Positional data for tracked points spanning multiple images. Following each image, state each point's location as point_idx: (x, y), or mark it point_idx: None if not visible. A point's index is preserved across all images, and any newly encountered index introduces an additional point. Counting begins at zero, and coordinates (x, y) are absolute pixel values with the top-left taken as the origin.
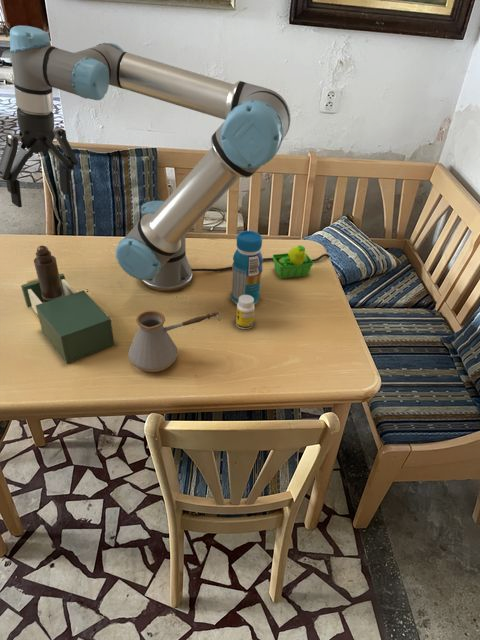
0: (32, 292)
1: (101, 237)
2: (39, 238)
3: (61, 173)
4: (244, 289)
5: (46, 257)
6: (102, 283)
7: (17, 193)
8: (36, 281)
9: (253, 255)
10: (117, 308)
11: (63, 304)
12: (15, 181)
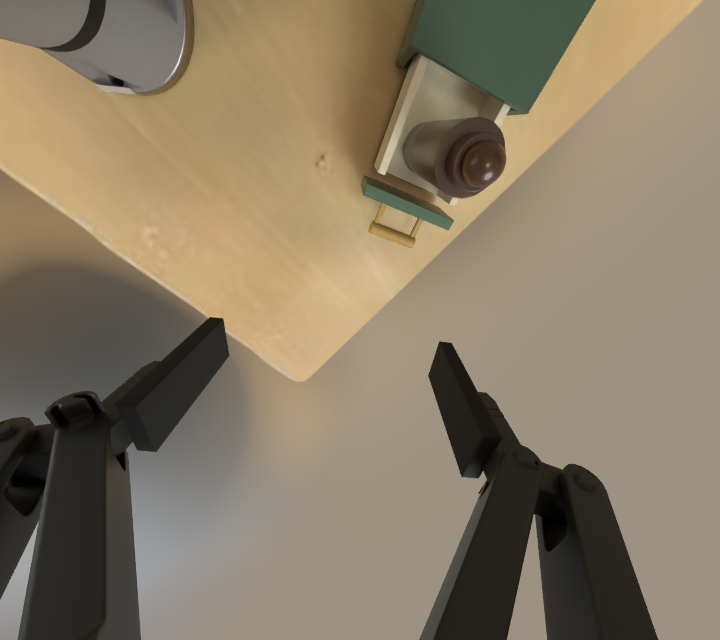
0: None
1: (175, 293)
2: (269, 355)
3: (177, 408)
4: None
5: (492, 134)
6: (277, 153)
7: (472, 384)
8: (421, 216)
9: None
10: (325, 8)
11: (502, 32)
12: (498, 440)
